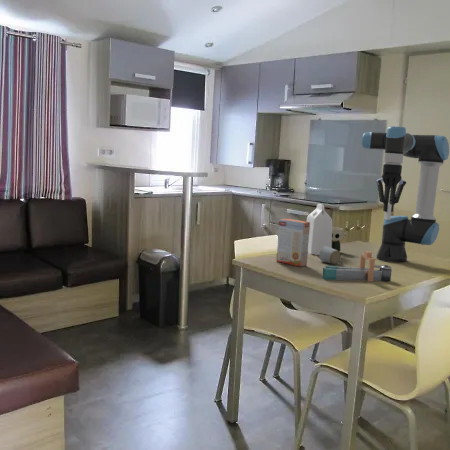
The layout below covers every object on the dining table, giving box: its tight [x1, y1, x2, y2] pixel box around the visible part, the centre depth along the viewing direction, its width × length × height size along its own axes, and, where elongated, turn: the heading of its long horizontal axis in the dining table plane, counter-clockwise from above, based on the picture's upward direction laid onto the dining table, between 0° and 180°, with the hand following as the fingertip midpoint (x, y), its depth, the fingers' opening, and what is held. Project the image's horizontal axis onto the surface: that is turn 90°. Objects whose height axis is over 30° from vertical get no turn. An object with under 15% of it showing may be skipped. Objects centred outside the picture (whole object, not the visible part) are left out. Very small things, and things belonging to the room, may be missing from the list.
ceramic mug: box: [318, 246, 343, 265], centre depth 253 cm, size 11×8×8 cm
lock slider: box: [359, 250, 376, 283], centre depth 223 cm, size 2×10×12 cm, turn 8°
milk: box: [305, 203, 333, 256], centre depth 277 cm, size 12×12×26 cm
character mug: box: [332, 226, 347, 252], centre depth 283 cm, size 11×7×13 cm, turn 62°
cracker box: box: [276, 218, 310, 268], centre depth 245 cm, size 14×6×21 cm, turn 47°
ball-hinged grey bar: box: [322, 267, 393, 283], centre depth 222 cm, size 30×5×5 cm, turn 98°
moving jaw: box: [325, 264, 392, 270], centre depth 224 cm, size 27×7×6 cm, turn 94°
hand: (387, 219), depth 221 cm, fingers closed
